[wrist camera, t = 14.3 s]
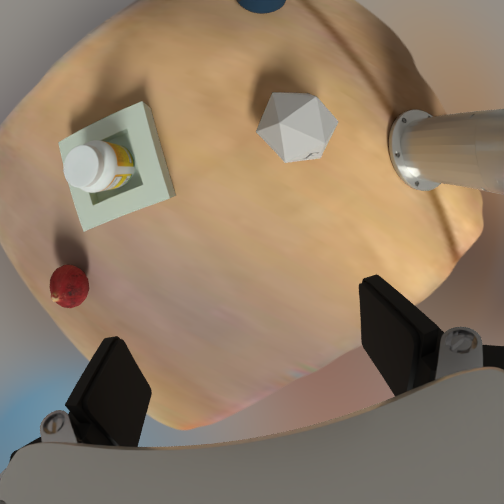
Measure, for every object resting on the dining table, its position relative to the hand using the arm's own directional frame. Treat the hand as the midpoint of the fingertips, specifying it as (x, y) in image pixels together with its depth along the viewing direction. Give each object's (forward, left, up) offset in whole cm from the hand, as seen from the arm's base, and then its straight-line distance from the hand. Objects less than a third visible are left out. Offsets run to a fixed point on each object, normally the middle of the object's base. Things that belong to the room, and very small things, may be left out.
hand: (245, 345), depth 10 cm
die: (-11, -9, -27) cm, 30 cm away
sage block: (+11, -11, -27) cm, 31 cm away
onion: (+23, +1, -27) cm, 36 cm away
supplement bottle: (+11, -11, -25) cm, 29 cm away
